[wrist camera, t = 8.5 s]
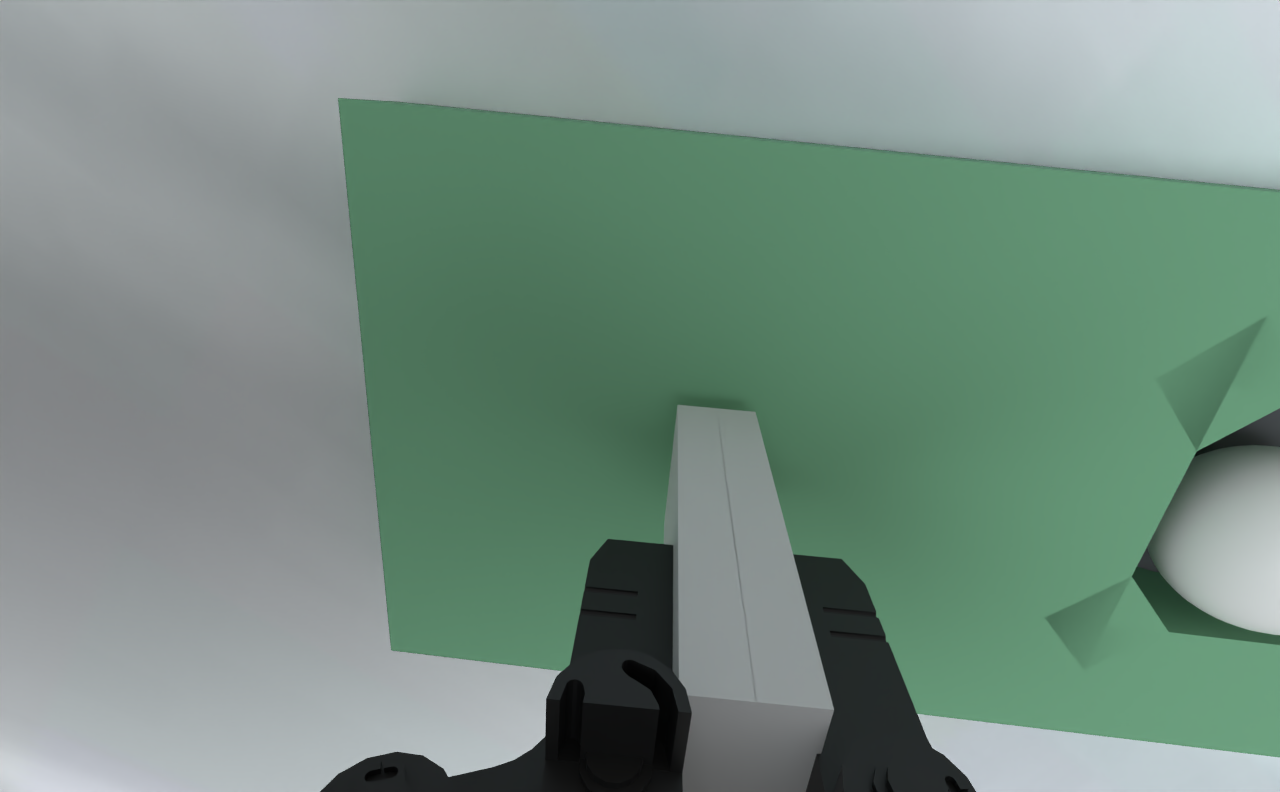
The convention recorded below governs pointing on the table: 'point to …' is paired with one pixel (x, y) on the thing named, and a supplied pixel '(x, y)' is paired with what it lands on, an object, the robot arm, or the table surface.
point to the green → (819, 393)
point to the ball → (1226, 537)
